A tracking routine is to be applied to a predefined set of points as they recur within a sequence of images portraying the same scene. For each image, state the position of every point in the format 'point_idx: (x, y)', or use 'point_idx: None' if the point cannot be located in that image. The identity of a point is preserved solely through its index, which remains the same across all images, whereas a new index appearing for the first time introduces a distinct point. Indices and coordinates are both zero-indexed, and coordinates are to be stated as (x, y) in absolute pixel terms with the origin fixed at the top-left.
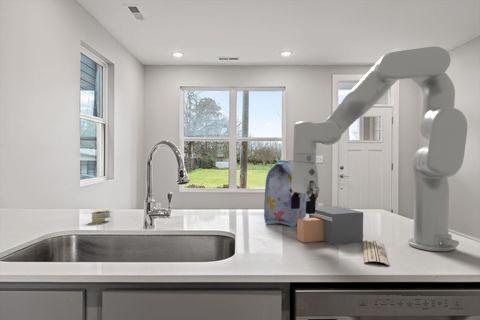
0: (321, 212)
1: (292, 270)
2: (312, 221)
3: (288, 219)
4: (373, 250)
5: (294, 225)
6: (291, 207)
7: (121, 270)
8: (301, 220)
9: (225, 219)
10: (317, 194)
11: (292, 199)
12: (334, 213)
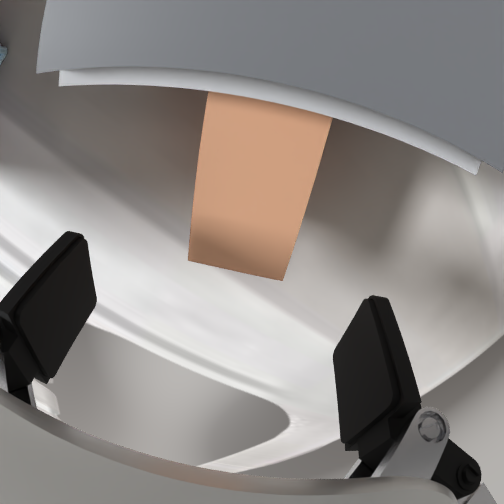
0: (306, 87)
1: (429, 379)
2: (304, 205)
3: None
4: None
5: (3, 53)
6: (89, 309)
7: (252, 463)
8: (250, 272)
9: None
10: (478, 484)
11: (59, 366)
12: (496, 114)
